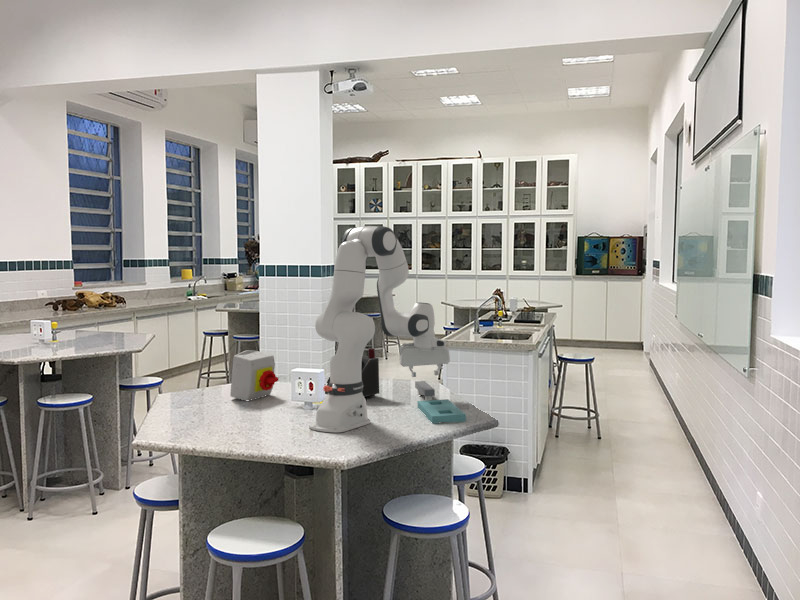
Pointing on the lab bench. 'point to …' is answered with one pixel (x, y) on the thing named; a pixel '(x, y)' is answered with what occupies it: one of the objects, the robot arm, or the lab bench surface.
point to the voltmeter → (369, 374)
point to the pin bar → (425, 390)
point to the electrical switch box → (252, 375)
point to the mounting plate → (441, 411)
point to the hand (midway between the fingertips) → (425, 375)
